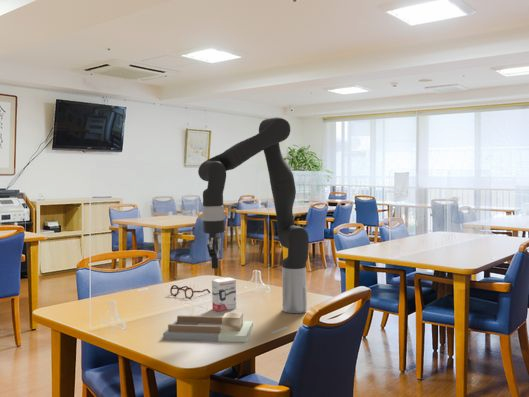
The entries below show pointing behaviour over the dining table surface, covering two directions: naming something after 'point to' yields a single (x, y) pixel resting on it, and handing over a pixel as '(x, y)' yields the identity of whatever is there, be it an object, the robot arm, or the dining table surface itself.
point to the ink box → (223, 294)
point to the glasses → (185, 290)
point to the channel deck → (205, 329)
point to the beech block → (232, 321)
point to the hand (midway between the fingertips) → (215, 268)
